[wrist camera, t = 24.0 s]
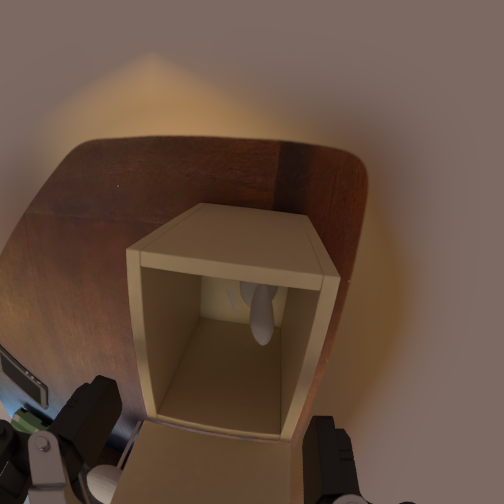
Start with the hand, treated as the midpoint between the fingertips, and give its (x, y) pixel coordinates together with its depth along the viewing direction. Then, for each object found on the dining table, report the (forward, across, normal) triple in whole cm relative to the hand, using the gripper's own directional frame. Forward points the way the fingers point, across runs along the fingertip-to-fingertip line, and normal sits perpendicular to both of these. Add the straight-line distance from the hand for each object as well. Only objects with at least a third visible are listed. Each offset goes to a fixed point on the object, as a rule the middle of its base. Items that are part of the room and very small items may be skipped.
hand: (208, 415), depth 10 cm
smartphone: (+16, +39, +27) cm, 50 cm away
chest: (+16, 0, 0) cm, 16 cm away
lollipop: (+16, +13, +26) cm, 33 cm away
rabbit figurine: (+11, +1, 0) cm, 11 cm away
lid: (-3, 0, +6) cm, 7 cm away
